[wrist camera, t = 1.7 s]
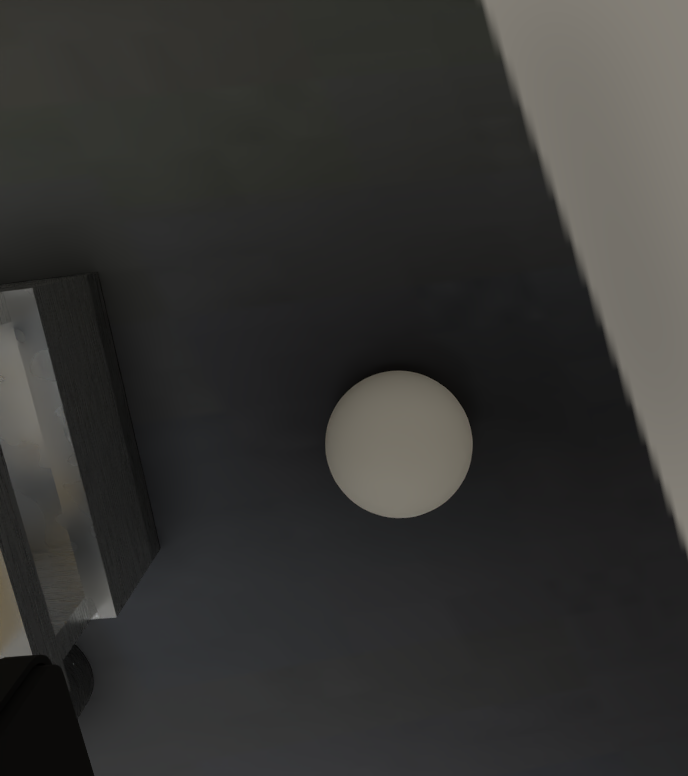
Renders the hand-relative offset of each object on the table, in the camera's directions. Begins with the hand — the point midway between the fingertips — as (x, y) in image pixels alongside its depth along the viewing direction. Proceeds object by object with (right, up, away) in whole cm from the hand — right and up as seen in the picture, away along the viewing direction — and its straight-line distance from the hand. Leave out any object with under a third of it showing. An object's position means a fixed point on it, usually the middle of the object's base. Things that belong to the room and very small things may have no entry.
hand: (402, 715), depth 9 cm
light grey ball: (+1, +3, +13) cm, 13 cm away
